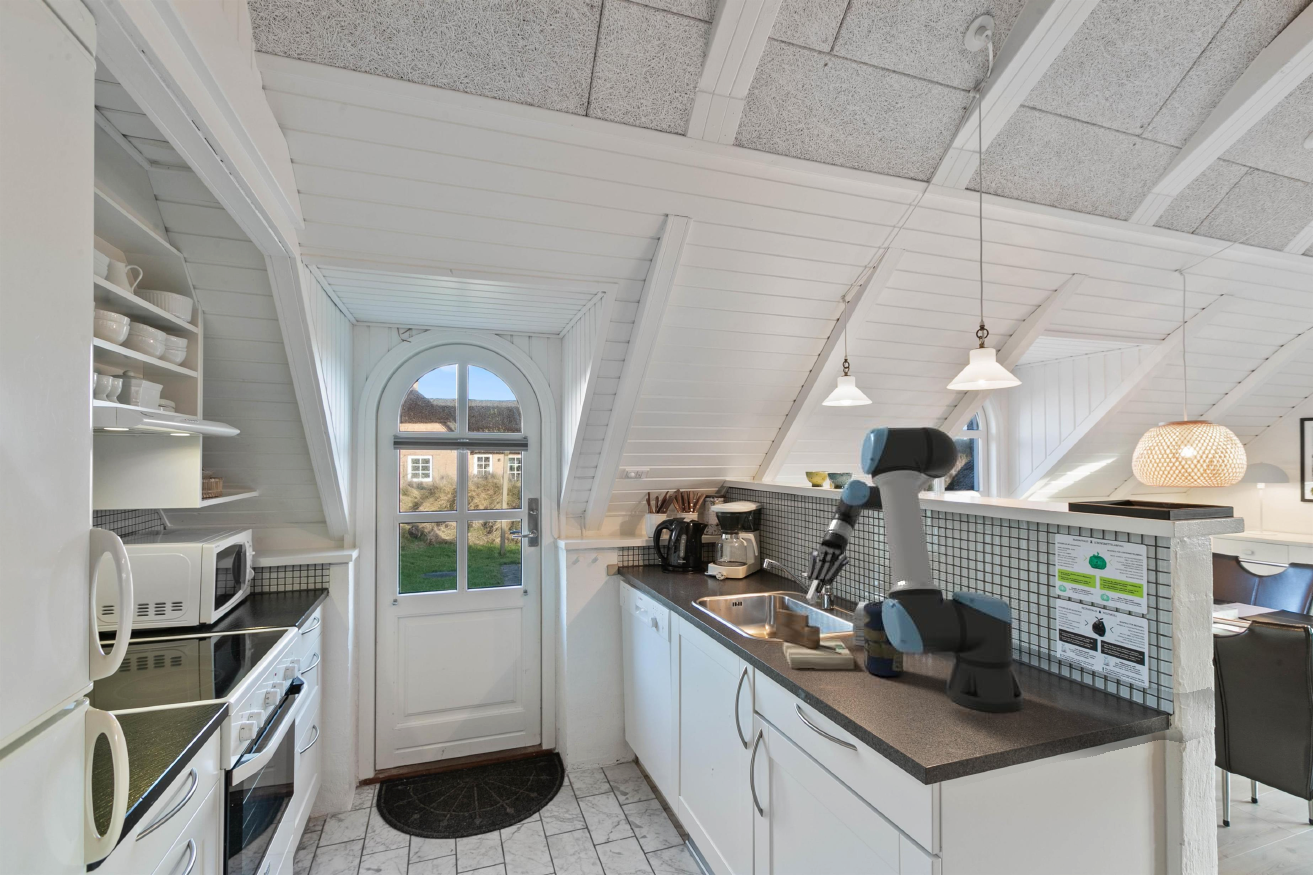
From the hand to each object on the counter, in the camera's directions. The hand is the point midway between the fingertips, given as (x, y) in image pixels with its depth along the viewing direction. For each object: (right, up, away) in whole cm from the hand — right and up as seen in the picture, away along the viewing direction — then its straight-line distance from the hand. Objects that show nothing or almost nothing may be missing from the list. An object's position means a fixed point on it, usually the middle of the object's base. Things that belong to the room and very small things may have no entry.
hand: (810, 600), depth 182 cm
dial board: (-2, -12, -15) cm, 19 cm away
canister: (+12, -11, -26) cm, 31 cm away
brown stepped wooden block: (-4, -8, -13) cm, 16 cm away
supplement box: (+21, -13, +2) cm, 25 cm away
